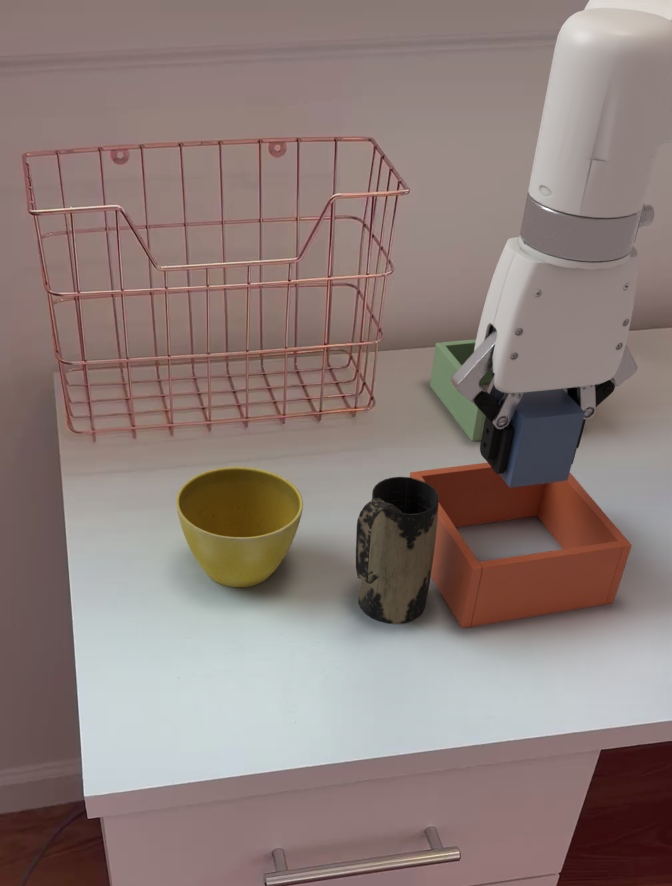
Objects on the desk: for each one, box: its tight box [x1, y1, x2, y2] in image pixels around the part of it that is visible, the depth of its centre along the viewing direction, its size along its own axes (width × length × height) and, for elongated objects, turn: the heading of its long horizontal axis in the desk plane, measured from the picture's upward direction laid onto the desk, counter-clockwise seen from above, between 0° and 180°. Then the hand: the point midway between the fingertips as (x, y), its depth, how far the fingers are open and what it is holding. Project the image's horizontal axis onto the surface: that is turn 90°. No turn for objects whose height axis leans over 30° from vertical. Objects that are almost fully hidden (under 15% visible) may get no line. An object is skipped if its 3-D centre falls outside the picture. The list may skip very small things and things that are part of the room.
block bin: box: [409, 462, 632, 629], centre depth 86 cm, size 14×14×7 cm
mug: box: [355, 476, 439, 625], centre depth 79 cm, size 8×6×12 cm
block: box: [499, 389, 585, 488], centre depth 79 cm, size 5×5×6 cm
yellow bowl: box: [175, 466, 304, 588], centre depth 84 cm, size 10×10×7 cm
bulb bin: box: [429, 338, 565, 442], centre depth 107 cm, size 12×12×6 cm
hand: (526, 458), depth 81 cm, fingers closed on block, 5 cm apart
